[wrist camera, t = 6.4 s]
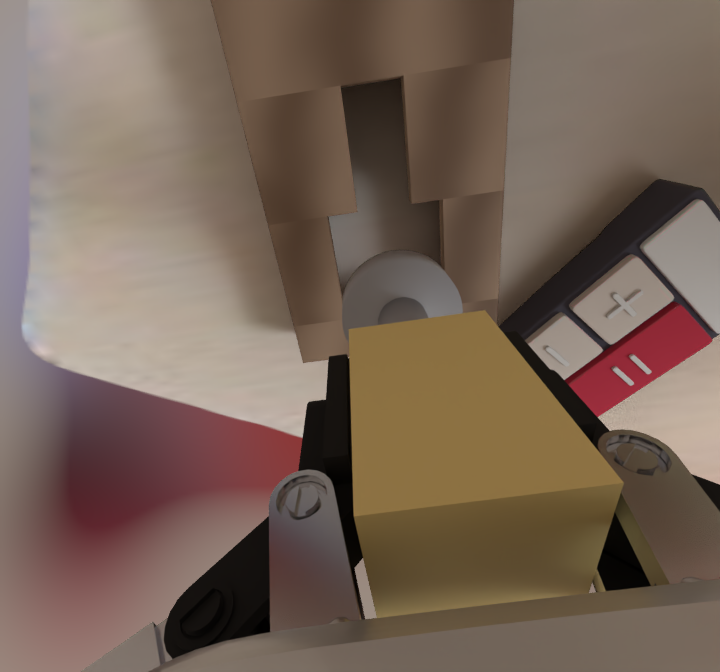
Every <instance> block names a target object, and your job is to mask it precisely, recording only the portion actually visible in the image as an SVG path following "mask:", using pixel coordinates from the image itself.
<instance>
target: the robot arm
mask: <svg viewBox="0 0 720 672" xmlns="http://www.w3.org/2000/svg"><path fill="white" fill-rule="evenodd" d="M503 333H504V334H505V336H506V337H507V338H508V339H509V341H510V342H511V343H512V344H513V346H514V347H515V348H516V349H517V351H518V352H519V353H520V354H521V356H522V357H523V358H524V359H525V361H526V362H527V363H528V364H529V366H530V367H531V368H532V369H533V371H534V372H535V373H536V374H537V375H538V377H539V378H540V379H541V380H542V382H543V383H544V384H545V385H546V387H547V388H548V389H549V390H550V392H551V393H552V394H553V395H554V397H555V398H556V399H557V400H558V402H559V403H560V404H561V405H562V407H563V408H564V409H565V410H566V412H567V413H568V414H569V415H570V416H571V418H572V419H573V420H574V421H575V423H576V424H577V425H578V426H579V428H580V429H581V430H582V431H583V433H584V434H585V435H586V436H587V438H588V439H589V440H590V441H591V443H592V444H593V445H594V446H595V448H596V449H597V450H598V451H599V453H600V454H601V455H602V456H603V457H604V459H605V460H606V461H607V462H608V464H609V465H610V466H611V467H612V469H613V470H614V471H615V472H616V474H617V475H618V476H619V477H620V479H621V480H622V481H623V482H624V484H623V487H622V491H621V494H620V497H619V500H618V503H617V506H616V509H615V512H614V515H613V519H612V522H611V525H610V528H609V531H608V534H607V537H606V540H605V544H604V547H603V550H602V553H601V556H600V559H599V562H598V565H597V568H596V572H595V575H594V578H593V581H592V583H593V585H594V588H595V591H596V592H595V593H587V594H578V595H569V596H560V597H551V598H543V599H534V600H525V601H517V602H508V603H499V604H491V605H482V606H473V607H465V608H456V609H448V610H440V611H432V612H423V613H415V614H407V615H398V616H390V617H382V618H373V619H365V616H364V611H363V606H362V602H361V597H360V592H359V588H358V583H357V578H356V573H355V566H356V565H357V564H358V563H359V561H361V559H362V558H363V555H362V550H361V546H360V542H359V537H358V533H357V529H356V524H355V520H354V510H353V473H352V436H351V398H350V361H349V358H348V356H347V354H342V355H335V356H329V362H328V378H327V393H326V400H320V401H312V402H308V404H307V410H306V418H305V425H304V433H303V440H302V448H301V456H300V463H299V470H298V472H295V473H293V474H290V475H289V476H287V477H286V478H284V479H283V480H282V481H281V482H280V483H279V484H278V485H277V486H276V487H275V489H274V491H273V493H272V494H271V497H270V502H269V517H267V518H266V519H265V520H264V521H263V522H262V523H261V524H260V525H258V526H257V527H256V528H255V529H254V530H253V531H252V532H251V533H249V534H248V535H247V536H246V537H245V538H244V539H243V540H242V541H241V542H239V543H238V544H237V545H236V546H235V547H234V548H233V549H232V550H230V551H229V552H228V553H227V554H226V555H225V556H224V557H223V558H221V560H219V561H218V562H217V563H216V564H215V565H214V566H212V567H211V568H210V569H209V570H208V571H207V572H206V573H205V574H204V575H202V576H201V577H200V578H199V579H198V580H197V581H196V582H195V583H194V584H192V585H191V586H190V587H189V588H188V589H187V590H186V591H185V592H184V593H183V594H182V595H181V597H180V598H179V599H178V600H177V602H176V604H175V605H174V607H173V608H172V610H171V611H170V614H169V616H168V618H167V619H165V620H164V621H163V622H161V623H160V624H158V625H157V626H156V625H155V624H154V622H152V623H150V624H149V625H147V626H146V627H144V628H143V629H142V630H140V631H139V632H137V633H136V634H134V635H133V636H131V637H130V638H129V639H127V640H126V641H124V642H123V643H121V644H120V645H119V646H117V647H116V648H114V649H113V650H111V651H110V652H108V653H107V654H106V655H104V656H103V657H101V658H100V659H98V660H97V661H95V662H94V663H93V664H91V665H90V666H88V667H87V668H85V669H84V670H82V671H81V672H720V485H719V484H716V483H714V482H711V481H708V480H706V479H703V478H700V477H698V476H695V475H692V474H691V473H690V472H689V471H688V469H687V468H686V467H685V465H684V464H683V463H682V461H681V460H680V459H679V457H678V456H677V455H676V454H675V453H674V452H673V451H672V450H671V449H670V448H669V447H668V446H667V445H665V444H664V443H662V442H661V441H659V440H658V439H656V438H653V437H651V436H649V435H647V434H644V433H640V432H636V431H632V430H612V431H609V430H608V429H607V427H606V426H605V425H604V424H603V423H602V422H601V421H600V420H599V418H598V417H597V416H596V415H595V414H594V413H593V412H592V411H591V410H590V408H589V407H588V406H587V405H586V404H585V403H584V402H583V401H582V400H581V398H580V397H579V396H578V395H577V394H576V393H575V392H574V391H573V389H572V388H571V387H570V386H569V385H568V384H567V383H566V382H565V381H564V379H563V378H562V377H561V376H560V375H559V374H558V373H557V372H556V371H555V370H550V369H549V368H548V366H547V365H546V364H545V363H544V362H543V361H542V360H541V359H540V357H539V356H538V355H537V354H536V353H535V352H534V351H533V349H532V348H531V347H530V346H529V345H528V344H527V343H526V341H525V340H524V339H523V338H522V337H521V336H520V335H519V333H518V332H516V331H509V332H503Z"/></svg>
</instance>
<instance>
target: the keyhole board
mask: <svg viewBox="0 0 720 672" xmlns="http://www.w3.org/2000/svg"><path fill="white" fill-rule="evenodd" d="M211 3H212V7H213V10H214V14H215V18H216V22H217V26H218V30H219V34H220V38H221V42H222V46H223V50H224V54H225V58H226V62H227V65H228V69H229V73H230V77H231V81H232V85H233V89H234V93H235V97H236V101H237V105H238V109H239V113H240V116H241V120H242V124H243V128H244V132H245V136H246V140H247V144H248V148H249V152H250V156H251V160H252V164H253V168H254V171H255V175H256V179H257V183H258V187H259V191H260V195H261V199H262V203H263V207H264V211H265V215H266V219H267V223H268V226H269V230H270V234H271V238H272V242H273V246H274V250H275V254H276V258H277V262H278V266H279V270H280V274H281V278H282V281H283V285H284V289H285V293H286V297H287V301H288V305H289V309H290V313H291V317H292V321H293V325H294V329H295V332H296V336H297V340H298V344H299V348H300V352H301V356H302V360H303V363H306V362H313V361H321V360H328V359H329V356H335V355H342V354H347V356H348V357H349V343H348V341H347V339H346V337H345V335H344V331H343V325H342V299H343V298H342V292H341V286H340V281H339V275H338V269H337V263H336V258H335V252H334V246H333V240H332V235H331V229H330V223H329V217H328V216H334V215H341V214H348V213H354V212H357V205H356V197H355V190H354V183H353V175H352V168H351V160H350V153H349V146H348V138H347V131H346V123H345V116H344V109H343V101H342V94H341V88H344V87H350V86H356V85H362V84H368V83H374V82H381V81H387V80H393V79H399V78H401V88H402V103H403V118H404V132H405V147H406V162H407V177H408V191H409V201H410V202H411V204H415V203H422V202H428V201H435V200H439V215H440V249H441V267H442V268H443V270H444V271H445V272H446V274H447V275H448V276H449V278H450V279H451V280H452V282H453V283H454V284H455V286H456V288H457V290H458V292H459V294H460V297H461V301H462V309H463V313H468V312H475V311H483V310H485V311H486V312H487V313H488V315H489V316H490V317H491V318H492V320H493V321H494V322H495V323H496V325H497V315H498V296H499V277H500V257H501V238H502V219H503V200H504V181H505V161H506V142H507V123H508V104H509V84H510V65H511V46H512V27H513V8H514V0H211Z"/></svg>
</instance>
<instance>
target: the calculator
mask: <svg viewBox="0 0 720 672" xmlns="http://www.w3.org/2000/svg"><path fill="white" fill-rule="evenodd" d="M499 328H500V330H501V331H502V332H509V331H516V332H518V333H519V335H520V336H521V337H522V338H523V339H524V340H525V341H526V343H527V344H528V345H529V346H530V347H531V348H532V349H533V351H534V352H535V353H536V354H537V355H538V356H539V357H540V359H541V360H542V361H543V362H544V363H545V364H546V365H547V366H548V368H549V369H550V370H555V371H556V372H557V373H558V374H559V375H560V376H561V377H562V378H563V379H564V381H565V382H566V383H567V384H568V385H569V386H570V387H571V388H572V389H573V391H574V392H575V393H576V394H577V395H578V396H579V397H580V398H581V400H582V401H583V402H584V403H585V404H586V405H587V406H588V407H589V408H590V410H591V411H592V412H593V413H594V414H595V415H596V416H597V417H598V416H600V415H601V414H603V413H604V412H606V411H608V410H609V409H611V408H612V407H614V406H615V405H617V404H618V403H620V402H621V401H623V400H624V399H626V398H627V397H629V396H631V395H632V394H634V393H635V392H637V391H638V390H640V389H641V388H643V387H644V386H646V385H647V384H649V383H650V382H652V381H653V380H655V379H657V378H658V377H660V376H661V375H663V374H664V373H666V372H667V371H669V370H670V369H672V368H673V367H675V366H676V365H678V364H680V363H681V362H683V361H684V360H686V359H687V358H689V357H690V356H692V355H693V354H695V353H696V352H698V351H699V350H701V349H702V348H704V347H706V346H707V345H708V344H710V343H711V342H712V339H713V338H714V337H716V336H718V335H719V334H720V211H719V209H718V208H717V207H716V205H715V204H714V203H713V201H712V200H711V198H710V197H709V196H708V194H707V193H706V192H705V190H704V189H702V188H698V187H694V186H690V185H685V184H681V183H676V182H671V181H667V180H662V179H659V180H656V181H655V182H654V183H652V184H651V185H650V186H649V187H648V188H647V189H646V190H645V191H644V192H643V193H642V194H641V195H639V196H638V197H637V198H636V199H635V200H634V201H633V202H632V203H631V204H630V205H629V206H628V207H627V208H626V209H624V210H623V211H622V212H621V213H620V214H619V215H618V216H617V217H616V218H615V219H614V220H613V221H612V222H611V223H609V224H608V225H607V226H606V227H605V228H604V230H603V231H602V233H601V235H600V236H599V237H598V238H596V239H595V240H594V241H593V242H592V243H591V244H590V245H589V246H587V247H586V248H585V249H584V250H583V251H582V252H581V253H579V254H578V255H577V256H576V257H575V258H574V259H573V260H572V261H570V262H569V263H568V264H567V265H566V266H565V267H564V268H562V269H561V270H560V271H559V272H558V273H557V274H556V275H555V276H553V277H552V278H551V279H550V280H549V281H548V282H547V283H545V284H544V285H543V286H542V287H541V288H540V289H539V290H538V291H537V292H536V293H534V294H533V295H532V296H531V297H530V298H529V299H528V300H527V301H526V302H525V303H524V304H523V305H522V306H520V307H519V308H518V309H517V310H516V311H515V312H514V313H513V314H512V315H511V316H510V317H509V318H508V319H506V320H505V321H504V322H503V323H502V324H501V325H500V326H499Z"/></svg>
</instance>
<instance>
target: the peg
mask: <svg viewBox="0 0 720 672" xmlns="http://www.w3.org/2000/svg"><path fill="white" fill-rule="evenodd" d="M342 325H343V331H344V335H345V337H346V339H347V341H348V343H349V361H350V398H351V436H352V473H353V510H354V520H355V524H356V529H357V533H358V537H359V542H360V546H361V550H362V555H363V559H364V563H365V568H366V572H367V576H368V581H369V585H370V589H371V593H372V597H373V602H374V607H375V611H376V615H377V618H382V617H390V616H398V615H407V614H415V613H423V612H432V611H440V610H448V609H456V608H465V607H473V606H482V605H491V604H499V603H508V602H517V601H525V600H534V599H543V598H551V597H560V596H569V595H578V594H587V593H589V590H590V587H591V584H592V581H593V578H594V575H595V572H596V568H597V565H598V562H599V559H600V556H601V553H602V550H603V547H604V544H605V540H606V537H607V534H608V531H609V528H610V525H611V522H612V519H613V515H614V512H615V509H616V506H617V503H618V500H619V497H620V494H621V491H622V487H623V484H624V482H623V481H622V480H621V479H620V477H619V476H618V475H617V474H616V472H615V471H614V470H613V469H612V467H611V466H610V465H609V464H608V462H607V461H606V460H605V459H604V457H603V456H602V455H601V454H600V453H599V451H598V450H597V449H596V448H595V446H594V445H593V444H592V443H591V441H590V440H589V439H588V438H587V436H586V435H585V434H584V433H583V431H582V430H581V429H580V428H579V426H578V425H577V424H576V423H575V421H574V420H573V419H572V418H571V416H570V415H569V414H568V413H567V412H566V410H565V409H564V408H563V407H562V405H561V404H560V403H559V402H558V400H557V399H556V398H555V397H554V395H553V394H552V393H551V392H550V390H549V389H548V388H547V387H546V385H545V384H544V383H543V382H542V380H541V379H540V378H539V377H538V375H537V374H536V373H535V372H534V371H533V369H532V368H531V367H530V366H529V364H528V363H527V362H526V361H525V359H524V358H523V357H522V356H521V354H520V353H519V352H518V351H517V349H516V348H515V347H514V346H513V344H512V343H511V342H510V341H509V339H508V338H507V337H506V336H505V334H504V333H503V332H502V331H501V330H500V328H499V327H498V326H497V325H496V323H495V322H494V321H493V320H492V318H491V317H490V316H489V315H488V313H487V312H486V311H485V310H483V311H475V312H468V313H463V309H462V301H461V297H460V294H459V292H458V290H457V288H456V286H455V284H454V283H453V282H452V280H451V279H450V278H449V276H448V275H447V274H446V272H445V271H444V270H443V268H442V267H441V266H440V265H439V264H438V263H437V262H436V261H434V260H433V259H431V258H430V257H428V256H426V255H424V254H421V253H418V252H415V251H409V250H393V251H388V252H384V253H381V254H378V255H376V256H374V257H372V258H370V259H369V260H367V261H366V262H364V263H363V264H362V265H361V266H359V267H358V268H357V270H356V271H355V272H354V273H353V274H352V276H351V277H350V279H349V281H348V283H347V285H346V287H345V290H344V294H343V299H342Z"/></svg>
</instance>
